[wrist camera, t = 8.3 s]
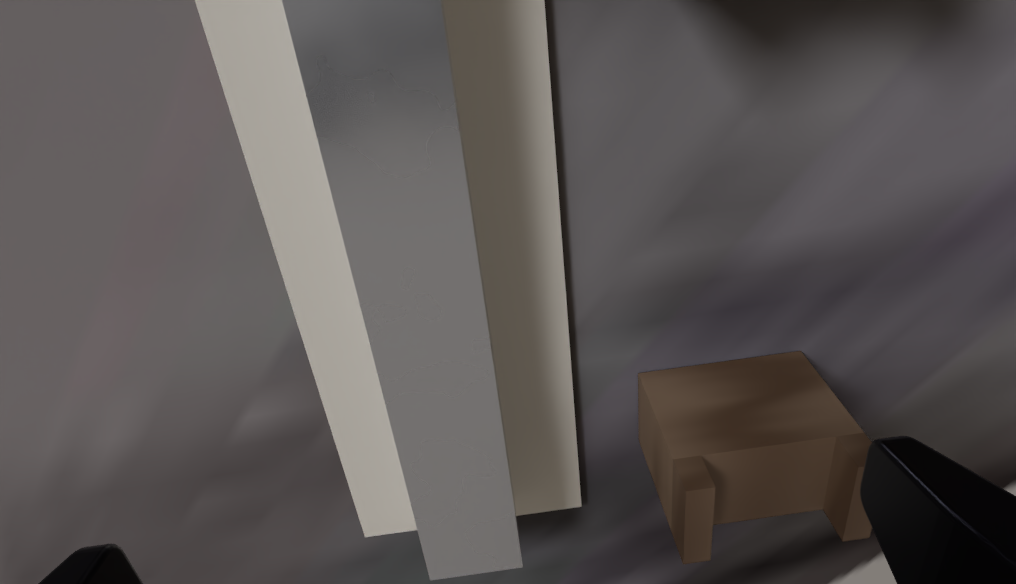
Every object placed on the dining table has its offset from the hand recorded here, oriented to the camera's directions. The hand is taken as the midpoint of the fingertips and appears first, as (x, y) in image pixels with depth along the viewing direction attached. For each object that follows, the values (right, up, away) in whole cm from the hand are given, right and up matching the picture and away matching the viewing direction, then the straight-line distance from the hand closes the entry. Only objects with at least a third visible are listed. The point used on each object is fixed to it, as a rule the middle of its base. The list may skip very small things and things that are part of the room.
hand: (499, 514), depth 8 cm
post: (+7, -1, +15) cm, 17 cm away
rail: (-2, +4, +11) cm, 12 cm away
